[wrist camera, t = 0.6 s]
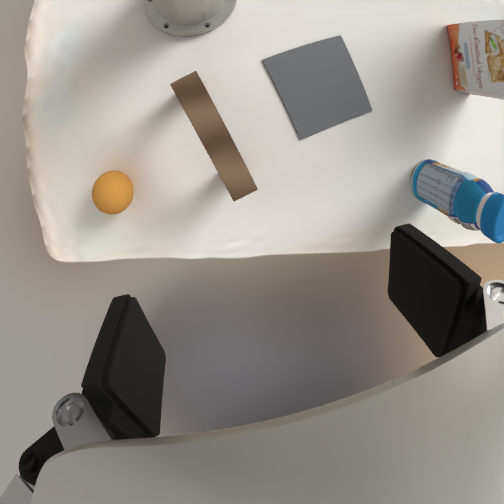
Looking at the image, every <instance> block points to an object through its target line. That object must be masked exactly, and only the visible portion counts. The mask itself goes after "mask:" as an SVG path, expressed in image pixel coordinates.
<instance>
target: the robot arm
mask: <svg viewBox="0 0 504 504" xmlns="http://www.w3.org/2000/svg"><path fill="white" fill-rule="evenodd" d="M150 1H151V0H145V10H146V13H147V16H148V18H149V19H150V21H151V22H152V23H153V24H154V25H155V26H156V27H157V28H158V29H160V30H161V31H163V32H166V33H168V34H172V35H176V36H194V35H199V34H203V33H206V32H208V31H211V30H213V29H215V28H216V27H218V26H220V25H221V24H222V23H223V22H225V21H226V20H227V19H228V17H229V16H230V15H231V13H232V12H233V10H234V8H235V5H236V1H237V0H232V1H230V0H152V2H150ZM207 25H208V26H209V27H208V28H206V27H205V26H207ZM166 26H169V27H168V28H165V27H166ZM480 282H481V277H480V276H479V275H477V274H476V273H475V272H474V271H473V270H471V269H470V268H469V267H468V266H466V265H465V264H464V263H462V262H461V261H460V260H459V259H457V258H456V257H455V256H453V255H452V254H451V253H450V252H448V251H447V250H446V249H444V248H443V247H442V246H440V245H439V244H438V243H436V242H435V241H434V240H432V239H431V238H430V237H428V236H427V235H425V234H424V233H423V232H421V231H420V230H418V229H417V228H415V227H414V226H412V225H411V224H405V225H401V226H397V227H395V229H394V232H392V233H391V246H390V267H389V283H388V295H389V298H390V300H391V301H392V302H393V304H394V305H395V306H396V307H397V308H398V310H399V311H400V312H401V313H402V314H403V316H404V317H405V318H406V319H407V321H408V322H409V323H410V325H411V326H412V327H413V328H414V330H415V331H416V332H417V333H418V335H419V336H420V337H421V338H422V340H423V341H424V342H425V344H426V345H427V346H428V348H429V349H430V350H431V352H432V353H433V354H434V355H435V356H436V357H439V358H438V359H436V360H434V361H432V362H430V363H428V364H426V365H424V366H422V367H420V368H418V369H415V370H413V371H411V372H409V373H407V374H405V375H403V376H400V377H398V378H396V379H393V380H391V381H389V382H386V383H384V384H381V385H379V386H376V387H374V388H371V389H369V390H366V391H364V392H361V393H358V394H355V395H353V396H350V397H347V398H344V399H341V400H338V401H335V402H332V403H329V404H326V405H323V406H320V407H316V408H313V409H310V410H306V411H303V412H299V413H295V414H291V415H288V416H284V417H280V418H276V419H271V420H267V421H263V422H258V423H253V424H249V425H244V426H238V427H233V428H227V429H221V430H215V431H208V432H201V433H193V434H185V435H175V436H166V437H156V436H158V435H159V434H160V421H161V406H162V393H163V381H164V371H165V361H166V357H165V352H164V349H163V348H162V346H161V344H160V343H159V341H158V339H157V337H156V335H155V333H154V332H153V330H152V328H151V326H150V324H149V322H148V320H147V319H146V317H145V315H144V313H143V311H142V309H141V307H140V305H139V303H138V301H137V299H136V298H135V297H131V296H130V295H128V294H127V295H122V296H118V297H114V298H113V300H112V302H111V304H110V307H109V309H108V312H107V314H106V317H105V319H104V322H103V324H102V327H101V329H100V332H99V335H98V338H97V340H96V343H95V346H94V348H93V351H92V354H91V357H90V360H89V363H88V366H87V369H86V372H85V375H84V378H83V381H82V385H81V386H82V387H83V391H82V394H80V393H70V394H67V395H66V396H64V397H63V398H61V399H60V400H59V401H58V403H57V404H56V405H55V407H54V410H53V414H52V420H53V423H54V427H53V428H52V429H50V430H49V431H48V432H47V433H46V434H45V435H43V436H42V437H41V438H40V439H39V440H37V441H36V442H35V443H34V444H32V445H31V446H30V447H29V448H27V449H26V450H25V452H23V454H22V456H21V458H20V461H19V471H20V476H19V475H18V474H16V475H15V476H14V478H13V480H12V481H11V482H10V484H9V485H8V487H7V489H6V490H5V492H4V493H3V495H2V497H1V498H0V504H504V281H502V280H490V281H488V282H486V283H485V285H484V286H483V288H482V287H481V286H480Z"/></svg>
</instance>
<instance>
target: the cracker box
mask: <svg viewBox="0 0 504 504" xmlns="http://www.w3.org/2000/svg"><path fill="white" fill-rule="evenodd" d="M447 27H448V33H449V39H450V46H451V54H452V64H453V75H454V89H455V90H459V91H462V92H466V93H469V94H473V95H480V96H487V97H493V98H499V99H504V20H490V21H477V22H467V23H459V24H452V25H447Z"/></svg>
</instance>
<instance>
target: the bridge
mask: <svg viewBox="0 0 504 504" xmlns="http://www.w3.org/2000/svg"><path fill="white" fill-rule="evenodd" d="M170 85H171V87H172V89H173V91H174V92H175V94H176V96H177V98H178V100H179V101H180V103H181V105H182V107H183V109H184V111H185V112H186V114H187V116H188V118H189V120H190V122H191V123H192V125H193V127H194V129H195V131H196V133H197V134H198V136H199V138H200V140H201V142H202V144H203V145H204V147H205V149H206V151H207V153H208V155H209V156H210V158H211V160H212V162H213V164H214V166H215V167H216V169H217V171H218V173H219V175H220V177H221V179H222V180H223V182H224V184H225V186H226V188H227V190H228V191H229V193H230V195H231V197H232V199H233V201H236V200H238V199H240V198H242V197H244V196H246V195H248V194H250V193H252V192H254V191H256V190H258V189H257V187H256V185H255V183H254V181H253V179H252V177H251V175H250V173H249V171H248V169H247V167H246V165H245V163H244V161H243V159H242V157H241V155H240V153H239V151H238V149H237V147H236V145H235V143H234V141H233V139H232V137H231V136H230V134H229V132H228V130H227V128H226V126H225V124H224V122H223V120H222V118H221V116H220V115H219V113H218V111H217V109H216V107H215V105H214V103H213V101H212V99H211V98H210V96H209V94H208V92H207V90H206V88H205V87H204V85H203V83H202V81H201V79H200V77H199V75H198V74H197V72H196V71H195V72H193V73H191V74H189V75H187V76H185V77H183V78H181V79H179V80H177V81H175V82H174V83H172V84H170Z"/></svg>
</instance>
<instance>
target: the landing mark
mask: <svg viewBox="0 0 504 504" xmlns="http://www.w3.org/2000/svg"><path fill="white" fill-rule="evenodd" d="M262 61H263V63H264V65H265V67H266V69H267V71H268V73H269V75H270V77H271V79H272V81H273V83H274V85H275V87H276V89H277V91H278V93H279V95H280V97H281V99H282V101H283V103H284V105H285V108H286V110H287V112H288V114H289V116H290V118H291V121H292V123H293V125H294V127H295V129H296V132H297V134H298V136H299V139H300V140H301V139H304V138H306V137H308V136H311V135H313V134H315V133H318V132H320V131H322V130H325V129H327V128H330V127H332V126H335V125H337V124H339V123H342V122H344V121H347V120H349V119H352V118H355V117H357V116H360V115H362V114H365V113H368V112H370V111H372V108H371V106H370V103H369V100H368V98H367V95H366V92H365V90H364V87H363V85H362V82H361V80H360V77H359V75H358V72H357V70H356V68H355V65H354V63H353V61H352V59H351V56H350V54H349V52H348V50H347V48H346V45H345V43H344V41H343V39H342V37H341V35H340V36H336V37H332V38H329V39H325V40H321V41H318V42H314V43H311V44H308V45H304V46H301V47H298V48H295V49H292V50H289V51H286V52H283V53H280V54H277V55H275V56H272V57H269V58H266V59H264V60H262Z"/></svg>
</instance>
